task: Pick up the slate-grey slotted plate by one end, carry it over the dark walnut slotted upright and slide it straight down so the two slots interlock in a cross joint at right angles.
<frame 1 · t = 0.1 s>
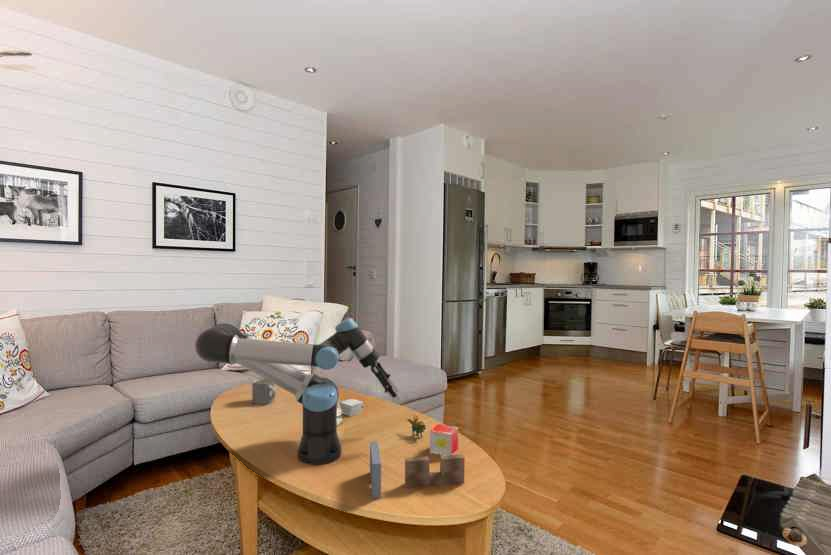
hand: (398, 397, 170), 15 cm above the table, tool tilted 35°, fingers open, 13 cm apart
figurine: (415, 436, 171), on the table
red patterned cube: (444, 451, 158), on the table
walnut slotted upright: (434, 483, 134), on the table
coffee mug: (264, 402, 211), on the table
small box: (351, 413, 197), on the table
grey slotted plate: (375, 484, 133), on the table
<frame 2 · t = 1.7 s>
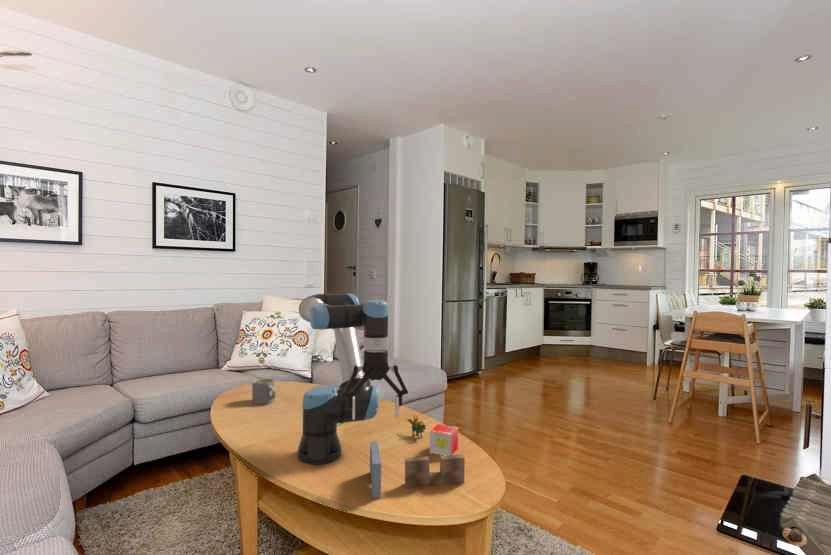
hand: (375, 417, 138), 19 cm above the table, tool pointing down, fingers open, 13 cm apart
nothing on the table moved.
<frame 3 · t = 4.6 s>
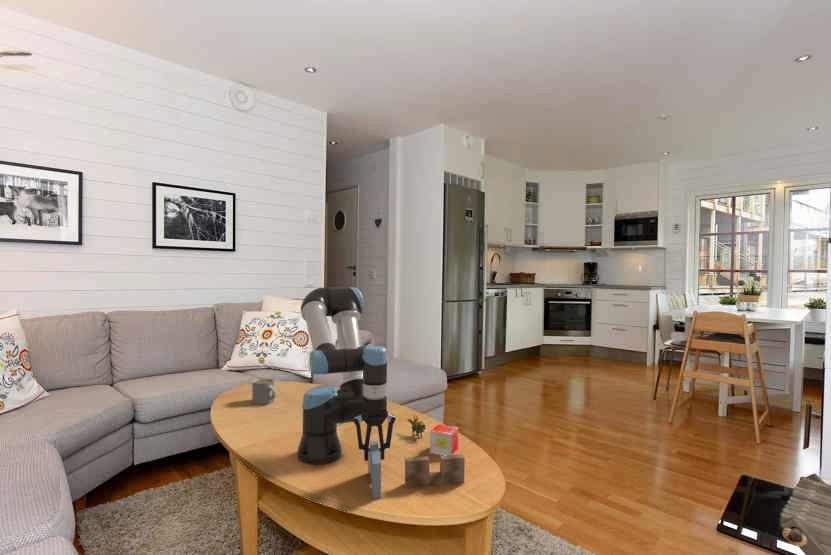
hand: (374, 469, 138), 2 cm above the table, tool pointing down, fingers closed on grey slotted plate, 2 cm apart
grey slotted plate: (375, 484, 133), on the table, touching gripper
everything else where it was.
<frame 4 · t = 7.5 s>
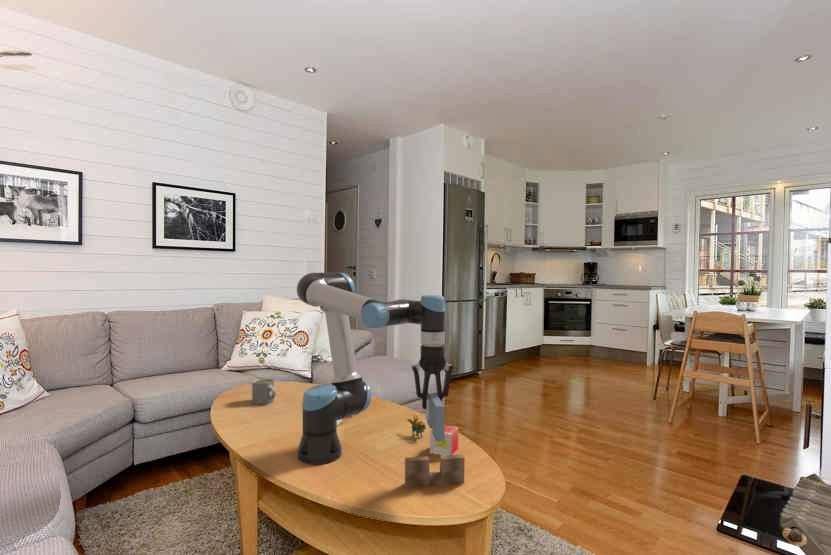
hand: (432, 418, 138), 18 cm above the table, tool pointing down, fingers closed on grey slotted plate, 2 cm apart
grey slotted plate: (435, 430, 133), point 16 cm above the table, touching gripper
everything else where it was.
when the fingers open (3 cm above the table, at t = 10.7 s): grey slotted plate stays where it is, resting on walnut slotted upright.
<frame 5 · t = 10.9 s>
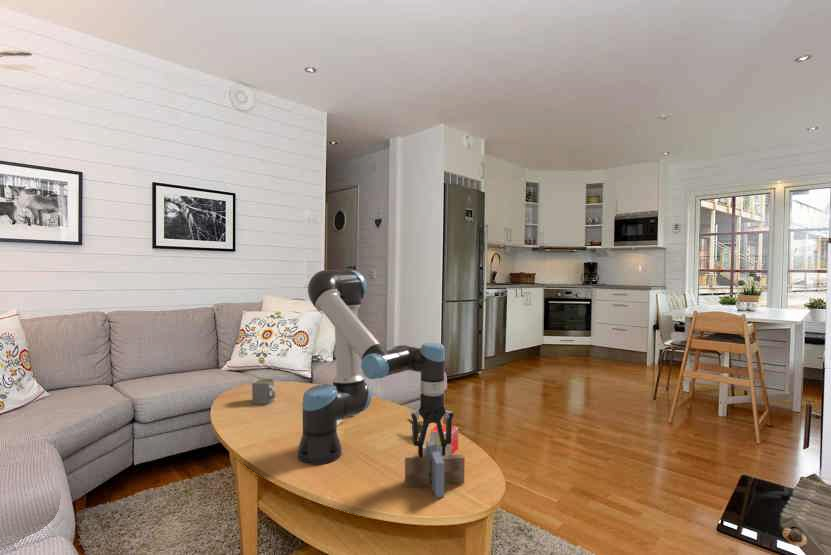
hand: (431, 465, 139), 3 cm above the table, tool pointing down, fingers open, 5 cm apart
grey slotted plate: (434, 483, 134), resting on walnut slotted upright
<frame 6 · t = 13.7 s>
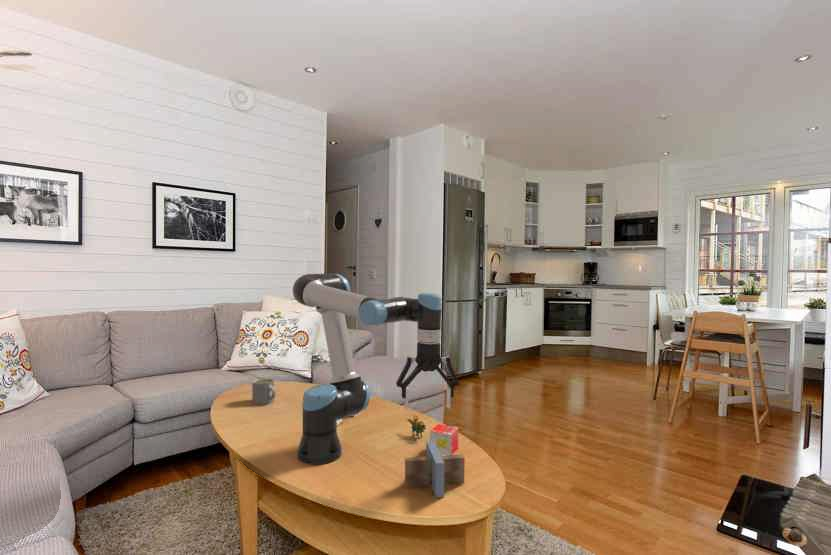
hand: (427, 407, 141), 21 cm above the table, tool pointing down, fingers open, 13 cm apart
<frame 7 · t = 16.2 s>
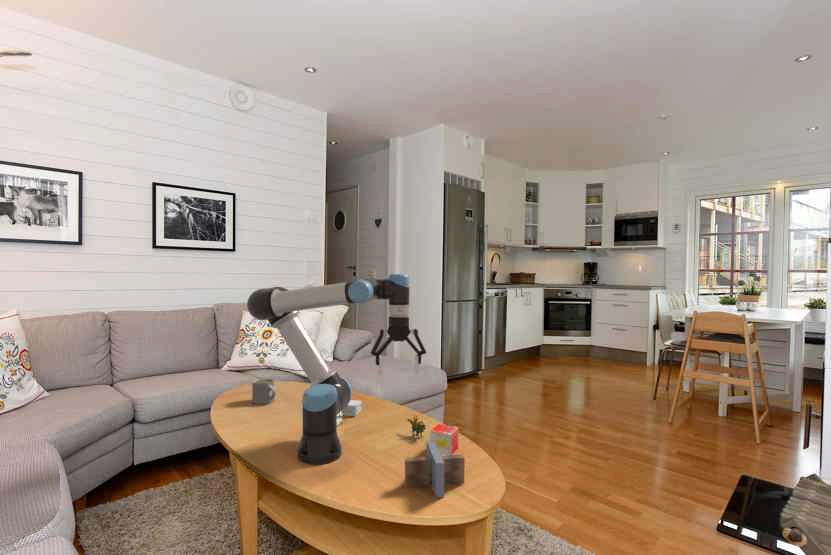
hand: (398, 373, 161), 27 cm above the table, tool pointing down, fingers open, 13 cm apart
at the end: grey slotted plate 0.0 cm off-centre on the walnut slotted upright, point 0.0 cm above the walnut slotted upright's base; grey slotted plate tilted 0°; the gripper is holding nothing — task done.
